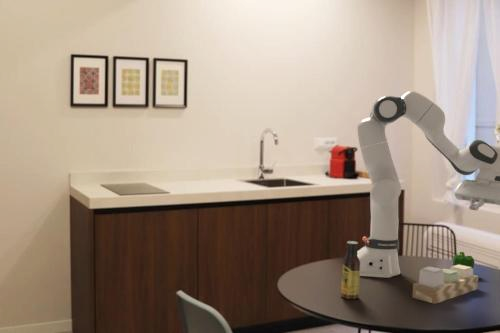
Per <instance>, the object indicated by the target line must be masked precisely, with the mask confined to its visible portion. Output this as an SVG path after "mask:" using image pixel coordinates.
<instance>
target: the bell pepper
mask: <svg viewBox="0 0 500 333" xmlns="http://www.w3.org/2000/svg"><path fill="white" fill-rule="evenodd" d="M458 253H459V254H454V256H453V260H452V264H453V265H452V266H455V265H464V266H468V267H472V269H473V270H474V267H475V259H474V258H473V255H472V256H471V255H465V251H460V252H458Z"/></svg>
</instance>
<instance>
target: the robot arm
mask: <svg viewBox="0 0 500 333" xmlns="http://www.w3.org/2000/svg"><path fill="white" fill-rule="evenodd" d="M402 117H403V118H405V119H408V120H409V121H410V122H412V123H413V124H414V125H416V126H417V127H418V128H419V129H420V130H421V131H422V132H423V134H424V136H425V138H426V139H427V141H428V142H429V143H430V144H431V145H432V146H433V147H434V148H435V149H437V151H438V152H439V153H440V154H441V155H442V156H444V158H445V159H446V160H448V162H449V163H450V164H451V166H452V168H453V169H454V170H455V171H456V172H457V173H458V174H460V175H462V176H470V175H473V174H475V172H476V171H477V170H478V169H479V172H478V173H477V175H476V177H475V179H465V180H461V181H460V183H459V184H458V186H456V188H455V190H453V191H454V192H453V194H454V196H455V198H456V199H457V200H460V201H467V202H469V203H470V204H469V206H468V207H469V210H470V211H471V210H473V211H478V210H479V209H480V208H481V207H483V206H484V205H485V204H488V205H489V204H490V205H496V206H500V146H499V145H491V144H488V143H487V141H484V140H481V139H480V140H479V139H475V140H473V141H471V142H470V143H469V144H467V145H466V146H465V147H464V148H462V149H460V148H458V147H457V146H456V145H455V144H454V143H453V142H452V141H451V140H450V139H449V138H448V137H447V135H446V134H445V132H444V128H445V124H446V115H445V111H443V109H442V108H441V107H440V106H438V104H436V103H434V101H432V100H430V99H429V98H428V97H426V96H424V95H423V94H422V93H421V94H420V92H417V91H414V90H408V91H407V92H404V94H402V95H401V96H399V97H398V96H392V95H385V96H381V97H379V98H378V99H376V100H375V102H374V103H373V105H372V108H371V111H370V115H369V117H367V118H364V119H362V120H360V122H359V123H358V125H357V137H358V143H359V148H360V151H361V155H362V159H363V163H364V167H365V169H366V171H367V174H368V176H369V180H370V182H371V187H370V189H369V191H370V192H369V194H370V195H369V200H370V201H369V202H370V203H369V204H370V205H369V206H370V236H368V237H367V236H363V237H362V241H363V242H364V246H363V247H361V248H360V249H359V250H358V249H357V253H358V254H357V256H358V258H359V260H360V277H370V278H371V277H373V278H387V279H389V278H392V277H394V276H398V275H400V274H401V270H400V265H399V264H400V263H399V256H398V253H399V250H400V238H399V199H400V195H401V194H402V186H401V182H400V179H399V176H398V173H397V172H398V171H397V170H396V167H395V164H394V162H393V158H392V154H391V151H390V147H389V143H388V140H387V139H388V138H387V136H386V127H387V126H388V125H390V124H392V123H394V122H396V121H397V120H399V119H400V118H402Z"/></svg>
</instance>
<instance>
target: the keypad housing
mask: <svg viewBox="0 0 500 333" xmlns="http://www.w3.org/2000/svg"><path fill="white" fill-rule="evenodd" d="M478 285H479V276H478V275H475V274H473V276H472V277H469V278H466V279H463V278H459V280H458V281H456V282H453V283H446V282H444V284H443V286H440V287H437V288H431V287H427V286H424V285H420V284H419V281H418V282H415V283H413V284H412V298H413V299H415V300H420V301H422V302H423V301H424V302H426V303H429V304H430V303H431V304H434V305H436V304H439V303H442V302H444V301H447V300H450V299H453V298H456V297H459V296H462V295H464V294H468V293H470V292H473V291H476V290H478V289H479V288H478Z"/></svg>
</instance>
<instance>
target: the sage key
mask: <svg viewBox="0 0 500 333" xmlns="http://www.w3.org/2000/svg"><path fill="white" fill-rule="evenodd" d="M442 269H443V271H444V282H446V283H453V282H456V281H458V280H459V273H457V271H453V270H450V268H449V269H448V268H442Z"/></svg>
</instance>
